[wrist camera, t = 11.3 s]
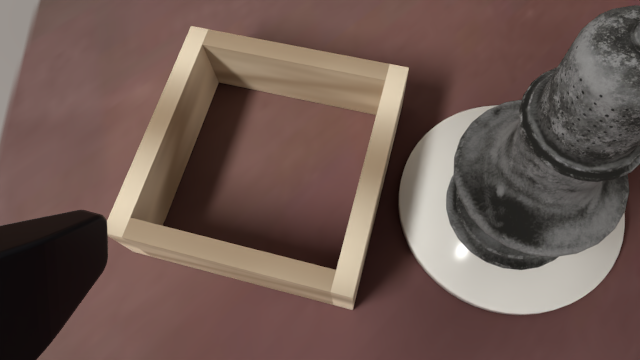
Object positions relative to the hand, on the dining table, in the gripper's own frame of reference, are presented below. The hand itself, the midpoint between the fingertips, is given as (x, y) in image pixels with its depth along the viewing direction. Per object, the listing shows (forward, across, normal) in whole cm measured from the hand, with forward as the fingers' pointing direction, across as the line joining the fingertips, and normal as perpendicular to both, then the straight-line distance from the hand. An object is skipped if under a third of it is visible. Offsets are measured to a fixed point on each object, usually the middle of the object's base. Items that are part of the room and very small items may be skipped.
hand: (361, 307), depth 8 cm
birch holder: (+14, +5, +4) cm, 15 cm away
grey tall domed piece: (+14, -5, +4) cm, 15 cm away
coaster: (+14, -5, +4) cm, 16 cm away
